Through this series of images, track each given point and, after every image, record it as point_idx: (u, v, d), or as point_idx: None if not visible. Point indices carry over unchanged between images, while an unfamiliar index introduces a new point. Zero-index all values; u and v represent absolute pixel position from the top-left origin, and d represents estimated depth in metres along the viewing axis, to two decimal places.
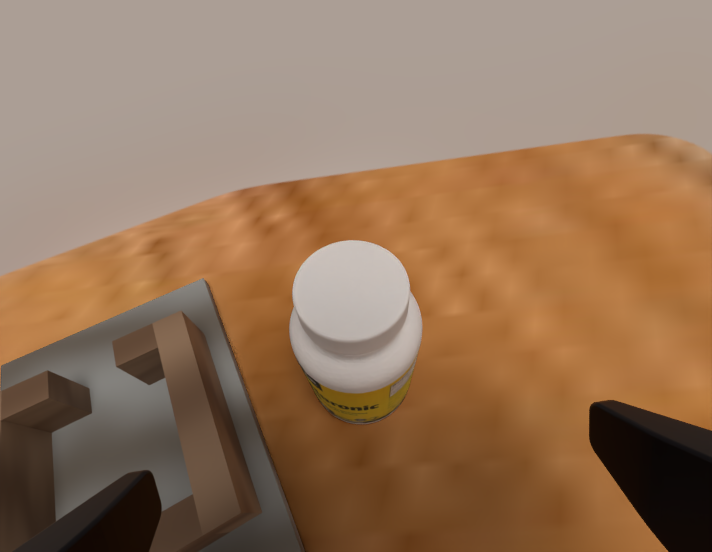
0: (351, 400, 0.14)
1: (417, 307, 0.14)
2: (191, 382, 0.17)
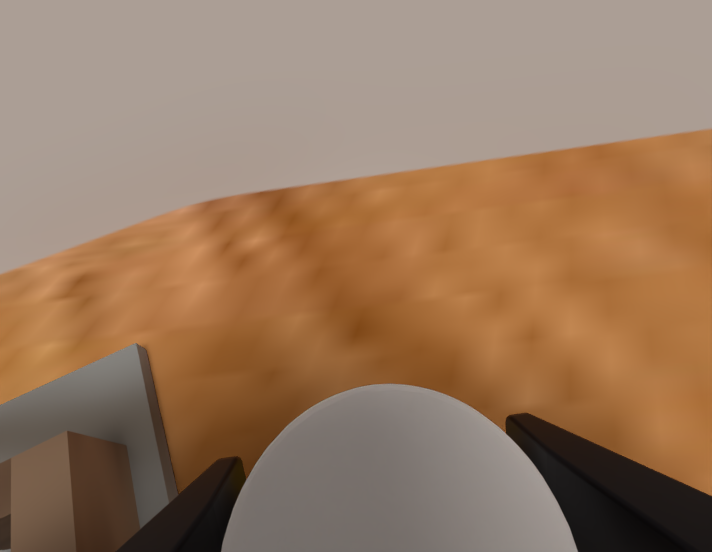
0: None
1: None
2: None
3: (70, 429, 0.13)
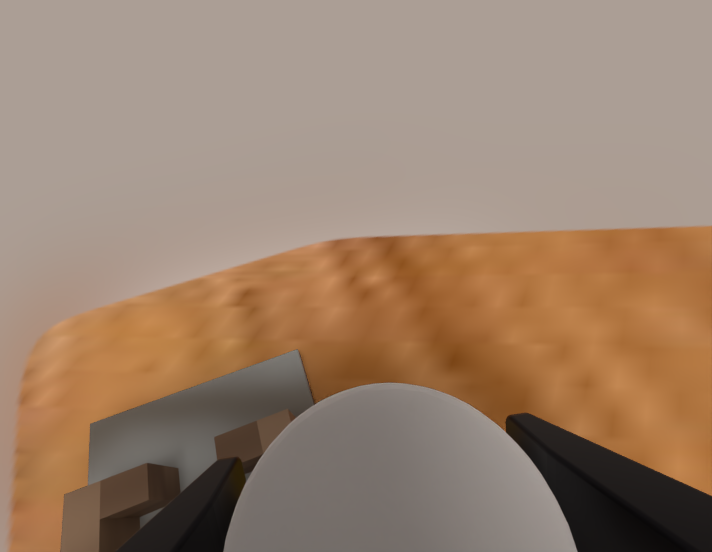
0: None
1: None
2: None
3: (260, 404, 0.20)
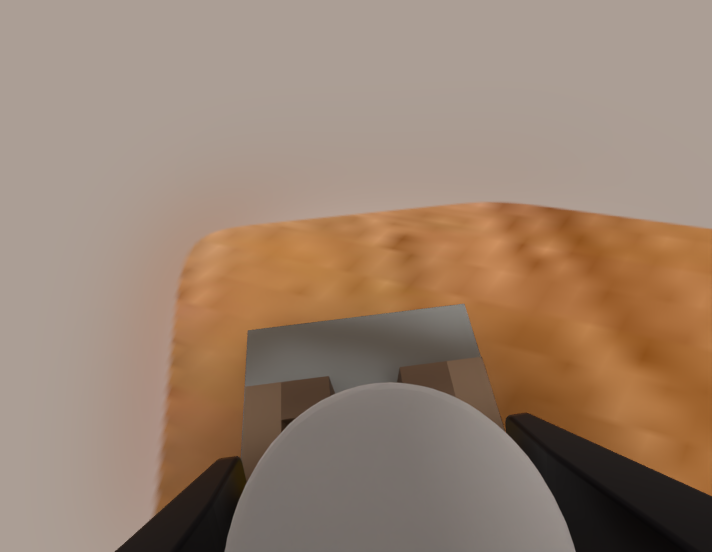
0: None
1: None
2: None
3: (423, 350, 0.18)
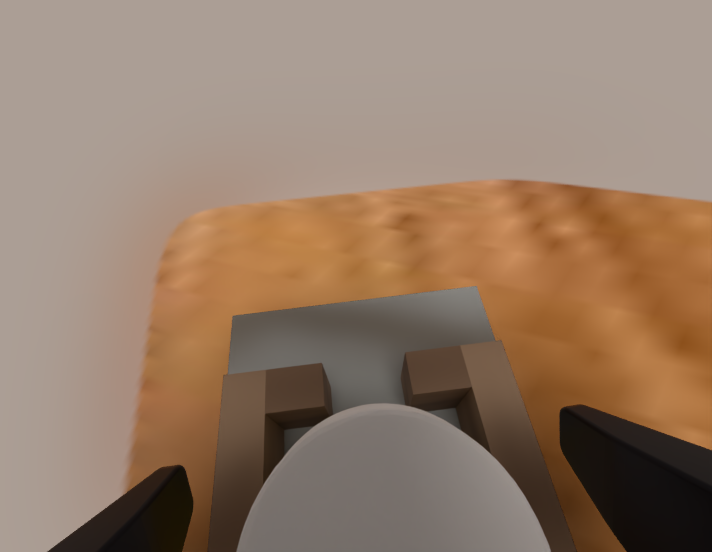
0: None
1: None
2: (531, 468, 0.11)
3: (430, 337, 0.16)
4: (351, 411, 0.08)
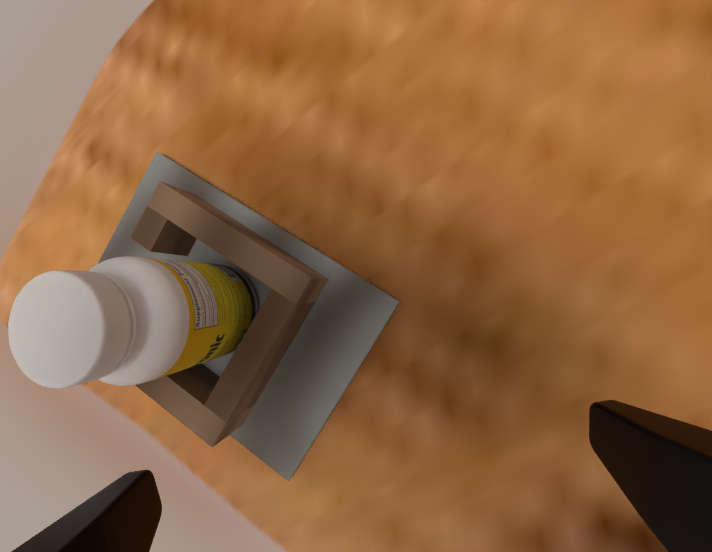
0: (190, 359, 0.16)
1: (144, 265, 0.14)
2: (213, 225, 0.18)
3: None
4: None
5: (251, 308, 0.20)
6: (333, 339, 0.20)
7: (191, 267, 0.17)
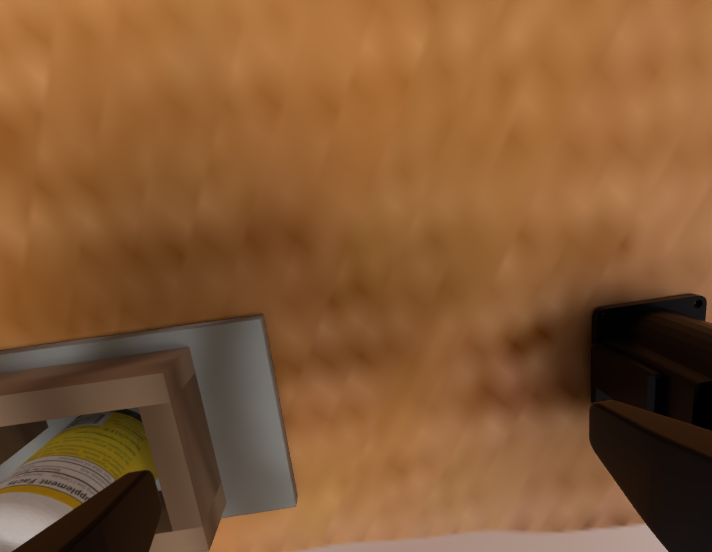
0: None
1: None
2: (33, 400, 0.16)
3: None
4: None
5: None
6: (236, 387, 0.20)
7: (43, 458, 0.15)
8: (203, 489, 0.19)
